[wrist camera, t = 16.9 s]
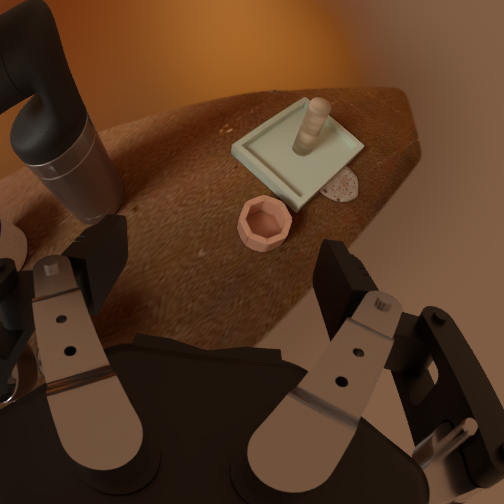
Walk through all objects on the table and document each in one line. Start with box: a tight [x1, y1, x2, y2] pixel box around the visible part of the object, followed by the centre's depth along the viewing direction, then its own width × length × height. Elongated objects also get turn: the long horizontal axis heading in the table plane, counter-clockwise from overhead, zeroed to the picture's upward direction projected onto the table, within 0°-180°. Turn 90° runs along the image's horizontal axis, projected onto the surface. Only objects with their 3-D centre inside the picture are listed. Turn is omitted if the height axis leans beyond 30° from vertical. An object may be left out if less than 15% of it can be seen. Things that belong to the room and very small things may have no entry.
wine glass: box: [0, 343, 45, 403], centre depth 27 cm, size 8×8×15 cm
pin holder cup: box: [237, 195, 292, 252], centre depth 41 cm, size 7×7×4 cm
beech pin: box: [292, 97, 332, 156], centre depth 41 cm, size 3×3×11 cm
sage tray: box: [231, 97, 364, 213], centre depth 47 cm, size 18×14×2 cm
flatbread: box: [320, 166, 358, 202], centre depth 47 cm, size 8×8×1 cm
